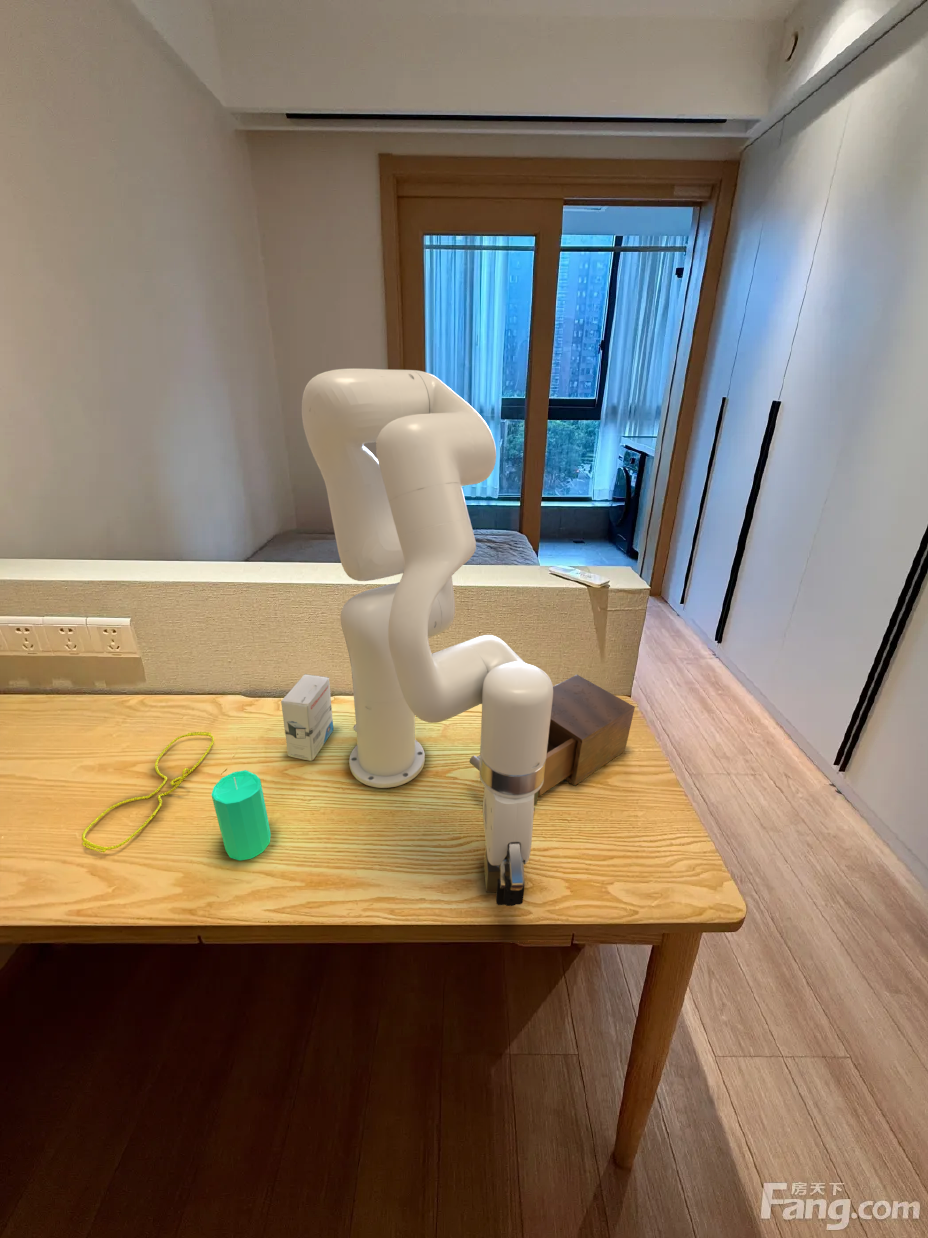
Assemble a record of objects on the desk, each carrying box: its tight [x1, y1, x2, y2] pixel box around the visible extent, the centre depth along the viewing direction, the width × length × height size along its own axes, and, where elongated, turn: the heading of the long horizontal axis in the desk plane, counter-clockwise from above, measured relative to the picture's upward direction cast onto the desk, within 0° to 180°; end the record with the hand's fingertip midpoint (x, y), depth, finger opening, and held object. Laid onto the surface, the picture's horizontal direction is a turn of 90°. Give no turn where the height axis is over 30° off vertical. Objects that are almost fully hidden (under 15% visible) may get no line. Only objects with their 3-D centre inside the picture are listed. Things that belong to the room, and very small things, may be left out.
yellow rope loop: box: [81, 731, 215, 853], centre depth 79 cm, size 25×10×5 cm, turn 172°
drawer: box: [468, 723, 578, 807], centre depth 83 cm, size 18×11×8 cm, turn 129°
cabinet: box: [550, 674, 636, 786], centre depth 90 cm, size 14×13×10 cm
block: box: [483, 845, 510, 893], centre depth 68 cm, size 4×4×4 cm
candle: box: [211, 769, 272, 862], centre depth 70 cm, size 6×6×12 cm
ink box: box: [280, 673, 334, 762], centre depth 88 cm, size 9×5×12 cm, turn 168°
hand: (504, 868), depth 67 cm, fingers open, 9 cm apart
